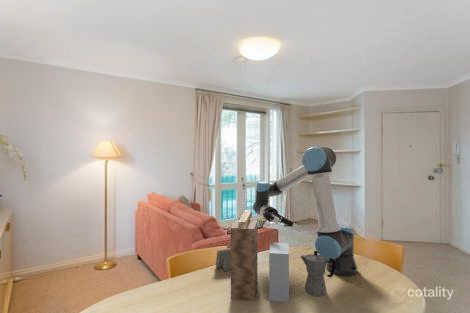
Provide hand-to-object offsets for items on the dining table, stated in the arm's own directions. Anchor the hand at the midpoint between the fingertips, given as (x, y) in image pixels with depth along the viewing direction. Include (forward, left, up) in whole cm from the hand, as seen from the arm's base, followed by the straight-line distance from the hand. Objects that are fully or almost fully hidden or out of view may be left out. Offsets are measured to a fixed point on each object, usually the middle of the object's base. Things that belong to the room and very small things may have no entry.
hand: (289, 225), depth 132 cm
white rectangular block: (+5, +13, -27) cm, 30 cm away
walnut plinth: (+20, +14, -27) cm, 36 cm away
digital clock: (+31, -11, -27) cm, 42 cm away
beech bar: (+20, +10, +3) cm, 23 cm away
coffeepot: (-12, +9, -27) cm, 31 cm away
